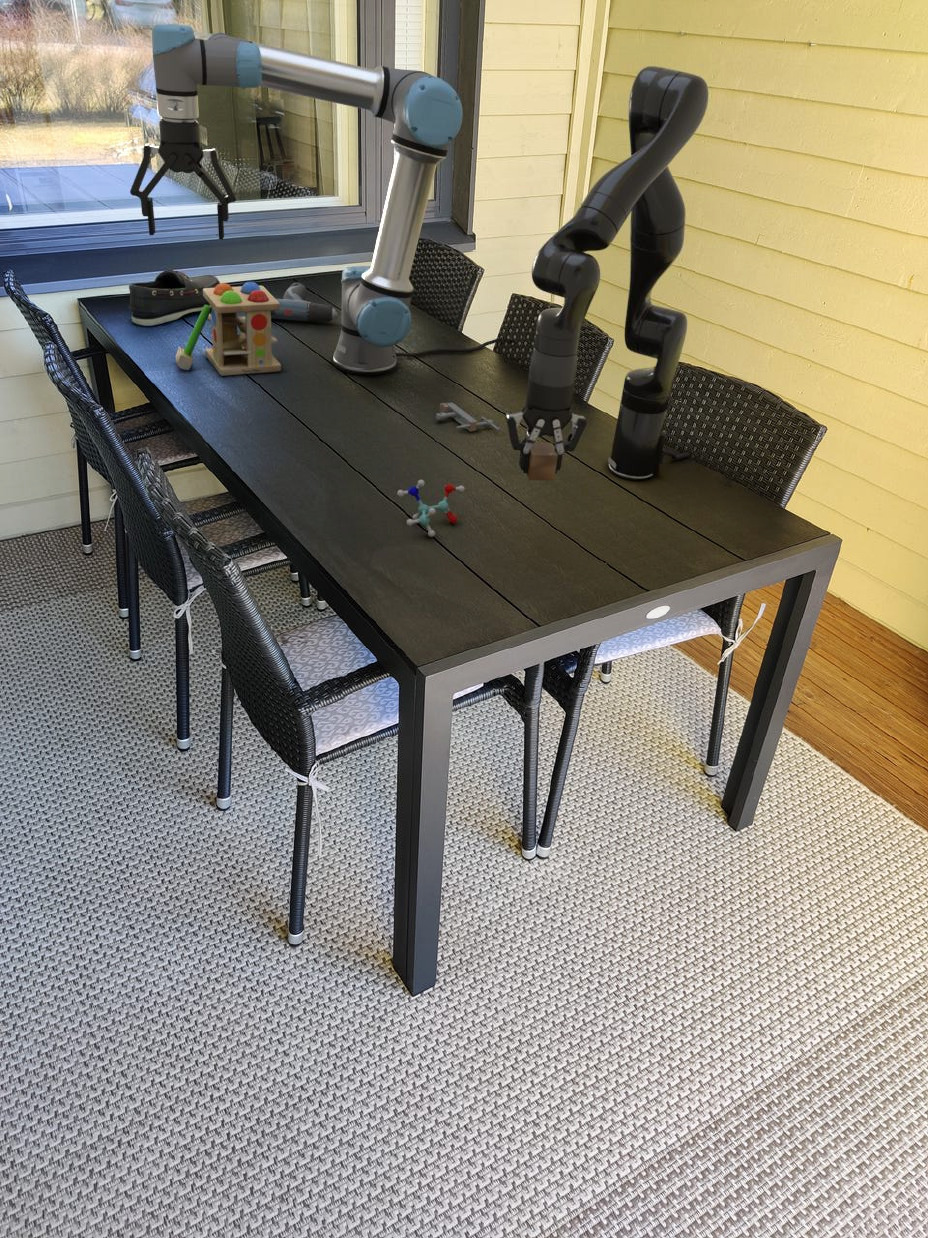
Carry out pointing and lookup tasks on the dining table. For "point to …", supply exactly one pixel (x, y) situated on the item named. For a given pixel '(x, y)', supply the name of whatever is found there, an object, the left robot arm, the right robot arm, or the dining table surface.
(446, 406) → the clamp
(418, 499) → the molecular model
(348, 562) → the dining table surface
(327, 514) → the dining table surface
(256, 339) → the pounding bench toy
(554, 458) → the block
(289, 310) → the power drill
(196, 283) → the boat shoe
